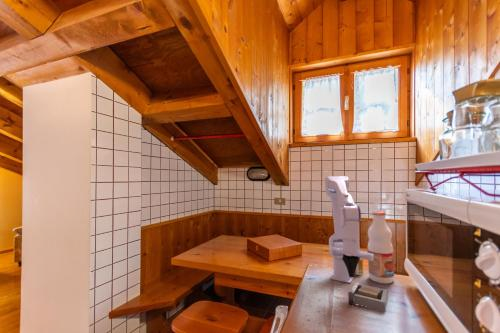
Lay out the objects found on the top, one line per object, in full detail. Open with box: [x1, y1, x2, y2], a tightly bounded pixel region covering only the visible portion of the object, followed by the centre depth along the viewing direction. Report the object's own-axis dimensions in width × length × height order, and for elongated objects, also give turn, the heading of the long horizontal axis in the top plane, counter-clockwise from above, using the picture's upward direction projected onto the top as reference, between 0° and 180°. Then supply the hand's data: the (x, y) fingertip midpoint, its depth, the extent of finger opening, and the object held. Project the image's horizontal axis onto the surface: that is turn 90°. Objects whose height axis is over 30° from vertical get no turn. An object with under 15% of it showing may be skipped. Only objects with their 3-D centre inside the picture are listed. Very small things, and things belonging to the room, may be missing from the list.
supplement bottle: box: [355, 258, 364, 276], centre depth 112 cm, size 5×5×10 cm
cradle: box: [353, 283, 389, 313], centre depth 87 cm, size 10×9×3 cm
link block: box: [358, 284, 381, 300], centre depth 87 cm, size 5×6×4 cm
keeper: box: [347, 281, 360, 307], centre depth 89 cm, size 12×1×4 cm, turn 145°
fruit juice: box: [367, 210, 395, 284], centre depth 105 cm, size 9×9×28 cm
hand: (351, 276), depth 91 cm, fingers closed
